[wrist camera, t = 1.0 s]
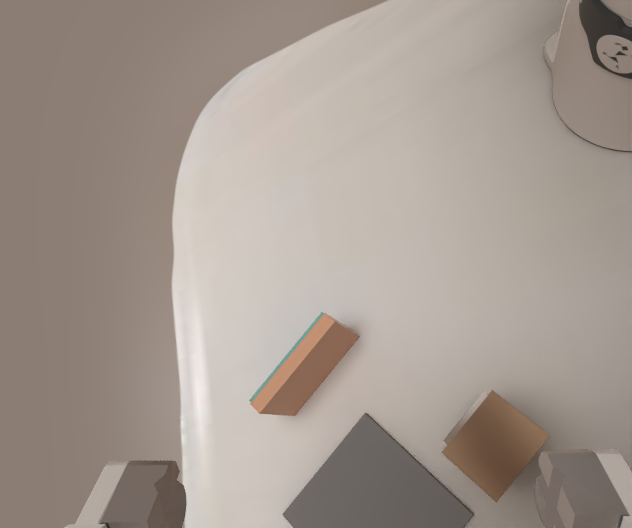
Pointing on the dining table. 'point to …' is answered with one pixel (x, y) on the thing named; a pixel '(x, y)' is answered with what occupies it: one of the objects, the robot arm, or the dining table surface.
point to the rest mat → (374, 488)
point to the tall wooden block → (493, 443)
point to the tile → (304, 367)
